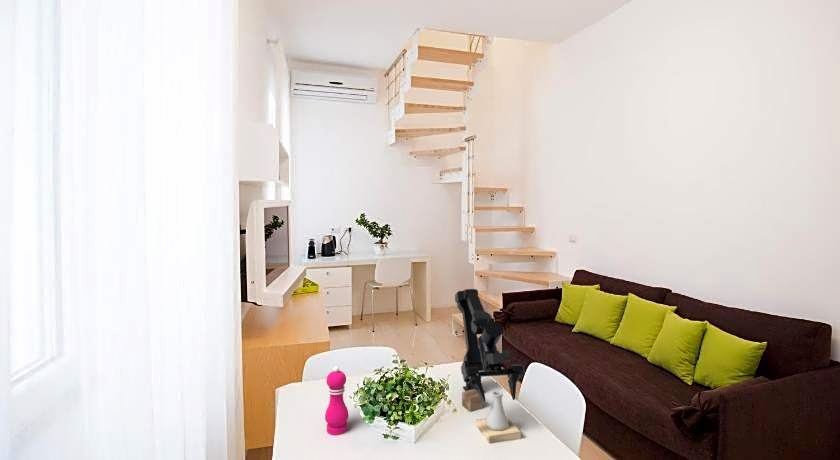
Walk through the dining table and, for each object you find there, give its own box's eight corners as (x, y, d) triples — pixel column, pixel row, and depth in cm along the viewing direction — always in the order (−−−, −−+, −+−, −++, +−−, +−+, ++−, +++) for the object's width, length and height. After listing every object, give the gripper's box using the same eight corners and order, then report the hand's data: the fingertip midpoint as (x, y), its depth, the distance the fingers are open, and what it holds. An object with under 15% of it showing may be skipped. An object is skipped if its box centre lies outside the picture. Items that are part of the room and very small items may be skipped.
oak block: (476, 428, 129) (476, 419, 129) (505, 424, 131) (505, 415, 131) (489, 446, 119) (489, 436, 119) (520, 441, 122) (520, 431, 122)
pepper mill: (325, 437, 123) (324, 372, 122) (324, 425, 130) (323, 363, 129) (349, 434, 125) (349, 369, 124) (347, 422, 131) (346, 361, 131)
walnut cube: (462, 406, 142) (462, 392, 142) (473, 402, 145) (473, 389, 145) (470, 412, 138) (470, 397, 138) (482, 408, 140) (482, 394, 140)
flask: (513, 429, 123) (513, 396, 122) (491, 432, 121) (491, 399, 120) (502, 417, 130) (502, 386, 129) (481, 420, 128) (481, 389, 127)
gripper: (465, 341, 127) (474, 392, 116) (522, 339, 129) (536, 388, 119) (459, 357, 135) (467, 406, 125) (513, 354, 137) (526, 402, 127)
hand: (499, 400), depth 123 cm, fingers open, 9 cm apart
